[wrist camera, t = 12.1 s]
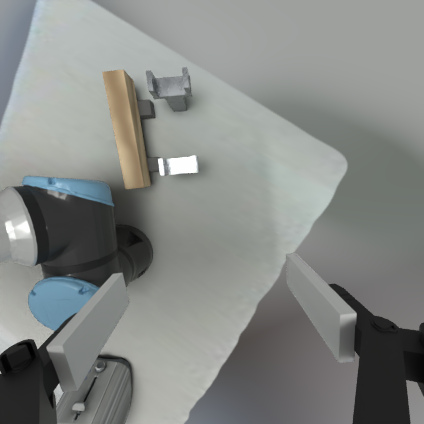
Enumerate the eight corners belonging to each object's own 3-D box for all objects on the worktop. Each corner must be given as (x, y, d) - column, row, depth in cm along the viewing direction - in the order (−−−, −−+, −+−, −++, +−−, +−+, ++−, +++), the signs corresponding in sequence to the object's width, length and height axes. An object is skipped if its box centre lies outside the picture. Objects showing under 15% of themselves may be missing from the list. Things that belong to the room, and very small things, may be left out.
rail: (134, 187, 47) (125, 189, 42) (114, 83, 42) (102, 71, 37) (151, 185, 47) (144, 187, 42) (133, 81, 42) (123, 69, 37)
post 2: (172, 173, 49) (159, 175, 36) (171, 161, 48) (157, 158, 36) (201, 171, 49) (197, 172, 36) (199, 158, 48) (196, 155, 36)
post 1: (165, 112, 46) (148, 91, 33) (163, 98, 45) (145, 71, 33) (195, 109, 46) (189, 87, 33) (194, 95, 45) (187, 67, 32)
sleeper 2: (130, 173, 49) (125, 173, 46) (127, 160, 48) (122, 160, 45) (162, 170, 49) (159, 170, 46) (160, 157, 48) (157, 157, 45)
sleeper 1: (121, 120, 46) (115, 117, 43) (118, 107, 46) (112, 102, 43) (155, 117, 46) (151, 114, 43) (153, 103, 45) (149, 99, 43)
